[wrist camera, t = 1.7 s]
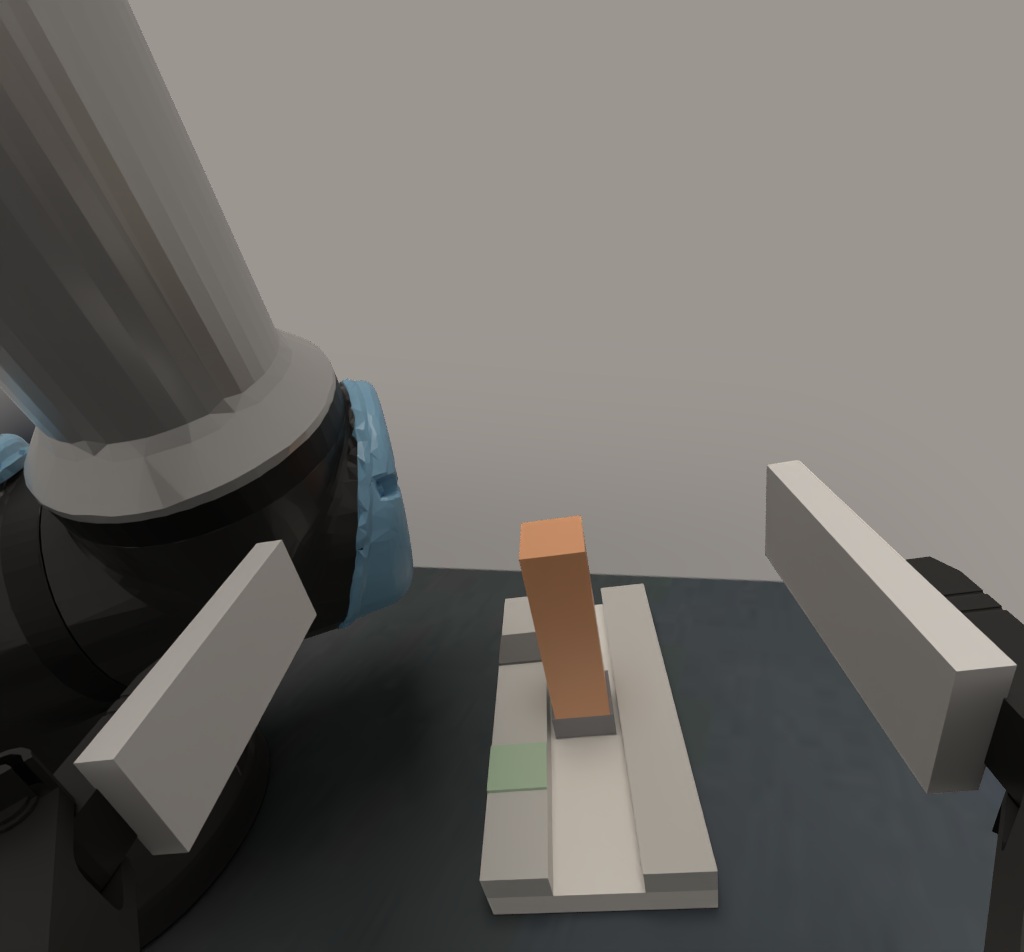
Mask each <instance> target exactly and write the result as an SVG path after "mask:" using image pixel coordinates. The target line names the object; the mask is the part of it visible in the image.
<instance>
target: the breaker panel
mask: <svg viewBox="0 0 1024 952" xmlns="http://www.w3.org/2000/svg"><path fill="white" fill-rule="evenodd" d="M601 593H602V600H603V604H600V605H595V612H596V618H597V625H598V632H599V638H600V645H601V651H602V658H603V665H604V671H606V670H608V675H609V682H610V689H611V696H612V703H613V710H614V718H615V725H616V732H617V734H606V735H593V736H580V737H566V738H556V736H555V732H554V728H553V724H552V714H551V699H550V694H549V690H548V685H547V681H546V676H545V672H544V668H543V663H542V659H541V654H540V650H539V646H538V641H537V637H536V632H535V628H534V623H533V619H532V615H531V610H530V606H529V601H528V597H520V598H511V599H505V607H504V618H503V629H502V635H501V643H500V653H499V673H498V684H497V695H496V706H495V717H494V728H493V739H492V746H491V751H490V761H489V772H488V783H487V793H488V794H487V805H486V816H485V827H484V838H483V849H482V860H481V871H480V883H481V885H482V888H483V890H484V893H485V895H486V897H487V900H488V902H489V905H490V907H491V909H492V912H493V914H494V915H497V914H529V913H560V912H592V911H624V910H656V909H688V908H718V871H717V867H716V863H715V859H714V856H713V852H712V848H711V844H710V840H709V836H708V832H707V828H706V825H705V821H704V817H703V813H702V809H701V805H700V801H699V797H698V794H697V790H696V786H695V782H694V778H693V774H692V770H691V767H690V763H689V759H688V755H687V751H686V747H685V743H684V739H683V736H682V732H681V728H680V724H679V720H678V716H677V712H676V708H675V705H674V701H673V697H672V693H671V689H670V685H669V681H668V678H667V674H666V670H665V666H664V662H663V658H662V654H661V650H660V647H659V643H658V639H657V635H656V631H655V627H654V623H653V620H652V616H651V612H650V608H649V604H648V600H647V596H646V592H645V589H644V585H643V584H635V585H626V586H618V587H609V588H601Z"/></svg>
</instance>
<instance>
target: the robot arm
mask: <svg viewBox="0 0 1024 952" xmlns="http://www.w3.org/2000/svg"><path fill="white" fill-rule="evenodd" d="M0 388H1V389H2V390H3V391H4V392H5V394H6V395H7V396H8V397H9V398H10V399H11V400H12V401H13V402H14V403H15V404H16V405H17V406H18V407H19V408H20V409H21V411H22V412H23V413H24V414H25V415H26V416H27V417H28V418H29V419H30V420H31V421H32V422H33V423H34V424H35V425H36V427H35V430H34V433H33V436H32V440H31V443H30V445H29V444H28V443H27V442H26V441H25V440H24V439H23V438H21V437H19V436H17V435H13V434H1V435H0V952H140V949H141V948H142V947H144V946H145V945H146V944H148V943H149V942H150V941H152V940H153V939H154V938H156V937H157V936H158V935H159V934H161V933H162V932H163V931H164V930H165V929H167V928H168V927H169V926H170V925H171V924H173V923H174V922H175V921H176V920H177V919H178V918H179V917H180V916H181V915H182V914H183V913H185V912H186V911H187V910H188V909H189V908H190V907H191V906H192V905H193V904H194V903H195V902H196V901H197V899H198V898H199V897H200V896H201V895H202V894H203V893H204V892H205V891H206V890H207V889H208V887H209V886H210V885H211V884H212V883H213V882H214V880H215V879H216V878H217V877H218V875H219V874H220V873H221V872H222V870H223V869H224V868H225V866H226V865H227V864H228V862H229V861H230V860H231V858H232V857H233V855H234V854H235V852H236V851H237V849H238V848H239V846H240V845H241V843H242V841H243V840H244V838H245V836H246V835H247V833H248V831H249V829H250V827H251V825H252V823H253V821H254V819H255V817H256V815H257V813H258V810H259V808H260V805H261V803H262V800H263V797H264V794H265V790H266V787H267V782H268V777H269V769H270V756H269V749H268V745H267V742H266V739H265V737H264V735H263V734H262V732H261V730H260V729H259V727H258V726H257V725H258V723H259V721H260V719H261V717H262V715H263V713H264V712H265V710H266V708H267V706H268V704H269V702H270V700H271V699H272V697H273V695H274V693H275V691H276V689H277V687H278V686H279V684H280V682H281V680H282V678H283V676H284V674H285V673H286V671H287V669H288V667H289V665H290V663H291V661H292V660H293V658H294V656H295V654H296V652H297V650H298V648H299V647H300V645H301V643H302V641H303V639H306V638H309V637H312V636H315V635H318V634H321V633H324V632H327V631H330V630H334V629H342V628H346V627H348V626H349V625H350V624H352V623H353V621H354V620H355V619H358V618H360V617H363V616H365V615H367V614H370V613H372V612H375V611H377V610H380V609H382V608H385V607H387V606H390V605H392V604H394V603H395V602H397V601H398V600H400V599H401V598H402V597H403V596H404V595H405V593H406V592H407V590H408V589H409V586H410V584H411V581H412V577H413V559H412V550H411V544H410V537H409V531H408V525H407V519H406V514H405V509H404V504H403V499H402V495H401V492H400V488H399V486H398V485H397V480H398V477H397V473H396V469H395V463H394V456H393V451H392V447H391V442H390V438H389V434H388V430H387V426H386V422H385V419H384V415H383V411H382V408H381V404H380V401H379V398H378V396H377V393H376V391H375V388H374V387H373V386H372V385H371V384H370V383H369V382H367V381H362V380H361V381H353V380H348V379H346V380H343V381H342V382H340V383H338V380H337V377H336V375H335V372H334V370H333V367H332V365H331V363H330V361H329V359H328V358H327V357H326V355H325V354H324V352H323V351H322V350H321V349H320V348H319V347H318V346H316V345H315V344H313V343H311V342H310V341H308V340H306V339H303V338H301V337H299V336H296V335H293V334H290V333H287V332H285V331H282V330H279V329H276V328H275V327H274V325H273V323H272V321H271V318H270V316H269V314H268V312H267V309H266V307H265V305H264V303H263V300H262V299H261V296H260V294H259V292H258V290H257V287H256V285H255V283H254V280H253V278H252V276H251V274H250V272H249V270H248V267H247V265H246V263H245V261H244V258H243V256H242V254H241V252H240V249H239V247H238V245H237V243H236V241H235V239H234V236H233V234H232V232H231V229H230V227H229V225H228V223H227V220H226V218H225V216H224V214H223V212H222V210H221V207H220V205H219V203H218V200H217V198H216V196H215V194H214V192H213V189H212V187H211V185H210V183H209V181H208V178H207V176H206V174H205V171H204V169H203V167H202V165H201V163H200V160H199V158H198V156H197V154H196V151H195V149H194V147H193V145H192V143H191V140H190V138H189V136H188V134H187V131H186V129H185V127H184V125H183V123H182V120H181V118H180V116H179V114H178V111H177V109H176V107H175V105H174V102H173V100H172V98H171V96H170V94H169V91H168V89H167V87H166V85H165V82H164V80H163V78H162V76H161V74H160V71H159V69H158V67H157V65H156V63H155V61H154V58H153V56H152V54H151V51H150V49H149V47H148V45H147V42H146V40H145V38H144V36H143V34H142V31H141V29H140V27H139V25H138V23H137V20H136V18H135V16H134V14H133V11H132V9H131V7H130V5H129V3H128V0H0ZM766 490H767V491H766V540H765V541H766V542H765V543H766V545H765V555H766V556H767V558H768V559H769V561H770V562H771V563H772V565H773V567H774V568H775V570H776V571H777V573H778V574H779V576H780V577H781V579H782V580H783V582H784V583H785V584H786V586H787V587H788V589H789V590H790V592H791V593H792V595H793V596H794V598H795V599H796V601H797V602H798V604H799V605H800V607H801V608H802V610H803V611H804V613H805V614H806V616H807V617H808V619H809V620H810V622H811V623H812V625H813V626H814V628H815V629H816V630H817V632H818V633H819V635H820V636H821V638H822V639H823V641H824V642H825V644H826V645H827V647H828V648H829V650H830V651H831V653H832V654H833V656H834V657H835V659H836V660H837V662H838V663H839V665H840V666H841V668H842V669H843V671H844V672H845V673H846V675H847V676H848V678H849V679H850V681H851V682H852V684H853V685H854V687H855V688H856V690H857V691H858V693H859V694H860V696H861V697H862V699H863V700H864V702H865V703H866V705H867V706H868V708H869V709H870V711H871V712H872V714H873V715H874V716H875V718H876V719H877V721H878V722H879V724H880V725H881V727H882V728H883V730H884V731H885V733H886V734H887V736H888V737H889V739H890V740H891V742H892V743H893V745H894V746H895V748H896V749H897V751H898V752H899V754H900V755H901V757H902V758H903V760H904V761H905V762H906V764H907V765H908V767H909V768H910V770H911V771H912V773H913V774H914V776H915V777H916V779H917V780H918V782H919V783H920V785H921V786H922V788H923V789H924V791H925V792H926V794H935V793H948V792H961V791H974V790H979V787H980V784H981V780H982V777H983V774H984V771H985V767H986V766H987V767H988V768H989V770H990V771H991V772H992V773H993V775H994V776H995V777H996V778H997V779H998V781H999V782H1000V783H1001V784H1002V786H1003V787H1004V788H1005V789H1006V792H1005V795H1004V798H1003V801H1002V804H1001V806H1000V809H999V812H998V815H997V818H996V821H995V824H994V827H993V830H992V831H993V832H995V833H997V834H998V840H997V848H996V856H995V864H994V872H993V881H992V889H991V897H990V905H989V914H988V922H987V930H986V938H985V947H984V952H1024V625H1023V624H1022V623H1021V622H1020V621H1019V620H1018V619H1016V618H1015V617H1014V616H1013V615H1012V614H1010V613H1009V612H1008V611H1007V610H1002V606H1001V605H1000V604H998V603H997V602H996V601H995V600H994V599H993V598H991V597H990V596H989V595H988V594H984V593H983V590H982V589H981V588H979V587H978V586H977V585H976V584H975V583H974V582H972V581H971V580H970V579H969V578H968V577H967V576H965V575H964V574H963V573H962V572H960V571H959V570H957V569H955V568H952V567H951V566H948V565H946V564H944V563H942V562H940V561H938V560H936V559H934V558H932V557H923V558H915V559H907V560H905V559H903V558H902V557H901V556H900V555H899V554H898V553H897V552H896V551H895V550H894V549H893V548H892V547H891V546H890V545H889V544H888V543H886V542H885V541H884V540H883V539H882V538H881V537H880V536H879V535H878V534H877V533H876V532H875V531H874V530H873V529H872V528H870V527H869V526H868V525H867V524H866V523H865V522H864V521H863V520H862V519H861V518H860V517H859V516H858V515H857V514H856V513H855V512H854V511H852V510H851V509H850V508H849V507H848V506H847V505H846V504H845V503H844V502H843V501H842V500H841V499H840V498H838V496H836V495H835V494H834V493H833V492H832V491H831V490H830V489H829V488H828V487H827V486H826V485H825V484H824V483H823V482H822V481H820V480H819V479H818V478H817V477H816V476H815V475H814V474H813V473H812V472H811V471H810V470H809V469H808V468H807V467H806V466H805V465H803V464H802V463H801V462H800V461H799V460H796V461H790V462H783V463H776V464H770V465H767V485H766Z"/></svg>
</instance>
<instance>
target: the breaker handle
mask: <svg viewBox="0 0 1024 952" xmlns="http://www.w3.org/2000/svg"><path fill="white" fill-rule="evenodd" d="M520 538H521V539H520V554H519V562H520V566H521V571H522V575H523V579H524V584H525V588H526V593H527V597H528V601H529V606H530V610H531V615H532V619H533V623H534V628H535V632H536V637H537V641H538V646H539V650H540V654H541V659H542V663H543V668H544V672H545V676H546V681H547V685H548V690H549V694H550V699H551V714H552V724H553V728H554V732H555V736H556V738H566V737H580V736H593V735H606V734H617V732H616V725H615V718H614V710H613V703H612V696H611V689H610V682H609V675H608V670H606V671H604V665H603V658H602V651H601V645H600V638H599V632H598V625H597V618H596V612H595V605H594V599H593V592H592V585H591V579H590V572H589V566H588V559H587V552H586V546H585V540H584V533H583V526H582V519H581V516H573V517H564V518H557V519H550V520H541V521H534V522H526V523H521V537H520Z"/></svg>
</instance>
